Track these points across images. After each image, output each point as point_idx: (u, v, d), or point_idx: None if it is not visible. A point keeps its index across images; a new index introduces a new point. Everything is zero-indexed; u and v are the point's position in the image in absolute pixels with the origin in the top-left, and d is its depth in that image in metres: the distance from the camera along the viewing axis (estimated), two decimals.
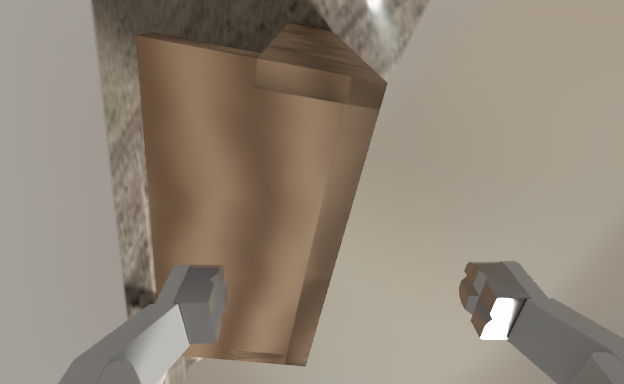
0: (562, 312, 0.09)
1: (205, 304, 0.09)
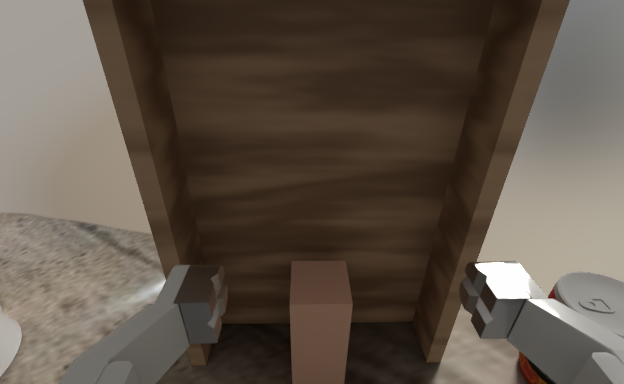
0: (562, 312, 0.09)
1: (205, 304, 0.09)
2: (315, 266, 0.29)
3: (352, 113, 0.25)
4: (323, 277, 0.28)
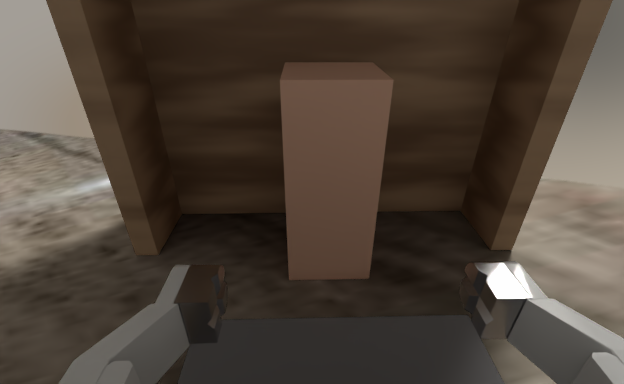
0: (562, 312, 0.09)
1: (205, 304, 0.09)
2: (324, 64, 0.18)
3: None
4: (338, 68, 0.17)
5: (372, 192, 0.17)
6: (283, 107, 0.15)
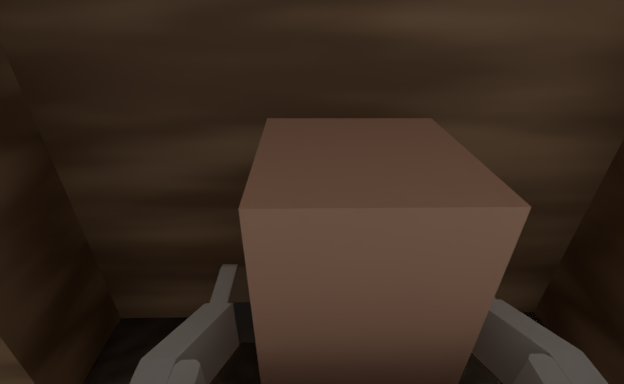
0: (507, 313, 0.08)
1: None
2: (343, 126, 0.09)
3: None
4: (374, 143, 0.08)
5: None
6: (251, 263, 0.06)
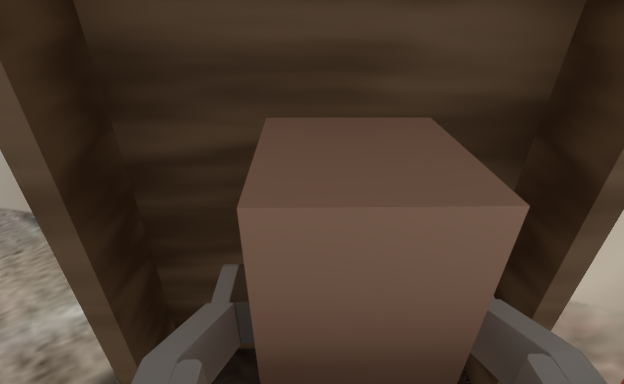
0: (506, 313, 0.08)
1: None
2: (342, 125, 0.09)
3: (386, 3, 0.15)
4: (372, 142, 0.08)
5: None
6: (249, 262, 0.06)
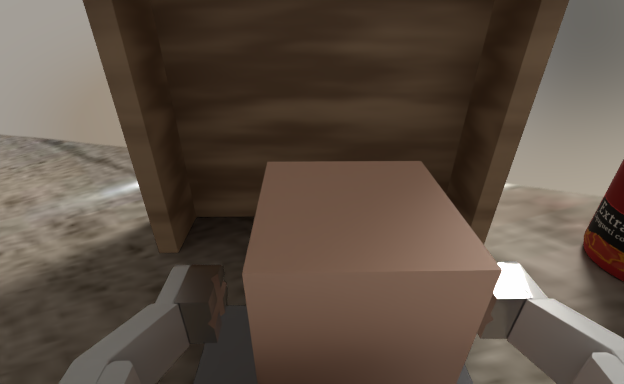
0: (562, 312, 0.09)
1: (205, 304, 0.09)
2: (337, 171, 0.10)
3: None
4: (365, 193, 0.09)
5: None
6: (253, 316, 0.07)
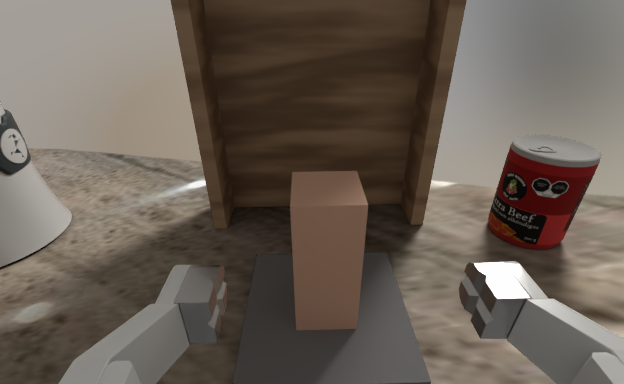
0: (562, 312, 0.09)
1: (205, 304, 0.09)
2: (321, 175, 0.24)
3: None
4: (330, 184, 0.23)
5: (356, 272, 0.23)
6: (292, 222, 0.21)
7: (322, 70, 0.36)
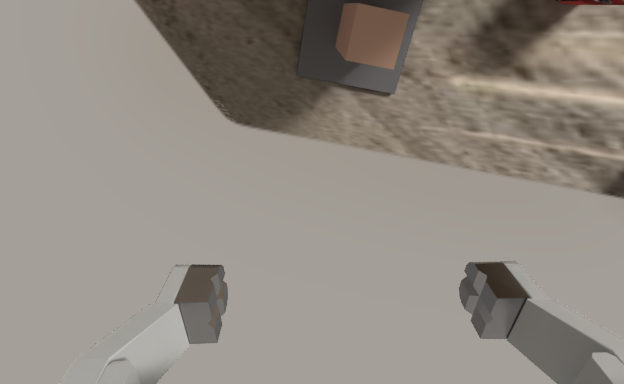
0: (562, 312, 0.09)
1: (205, 304, 0.09)
2: (378, 17, 0.30)
3: None
4: (381, 33, 0.31)
5: None
6: (345, 58, 0.33)
7: None
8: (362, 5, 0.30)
